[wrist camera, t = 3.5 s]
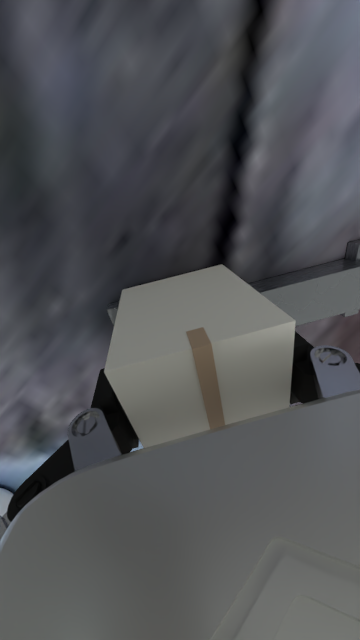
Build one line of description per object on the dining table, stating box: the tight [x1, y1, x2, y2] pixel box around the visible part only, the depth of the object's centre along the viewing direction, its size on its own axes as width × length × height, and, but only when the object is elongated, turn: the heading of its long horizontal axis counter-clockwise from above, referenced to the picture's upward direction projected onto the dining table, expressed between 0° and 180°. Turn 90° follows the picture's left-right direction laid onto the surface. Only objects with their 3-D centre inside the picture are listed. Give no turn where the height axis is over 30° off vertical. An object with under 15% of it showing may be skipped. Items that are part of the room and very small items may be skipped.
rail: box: [107, 240, 360, 326], centre depth 14 cm, size 5×16×2 cm, turn 102°
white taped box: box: [104, 264, 296, 448], centre depth 11 cm, size 6×6×7 cm
